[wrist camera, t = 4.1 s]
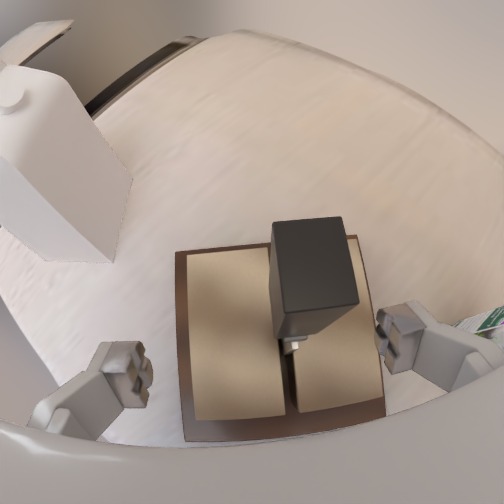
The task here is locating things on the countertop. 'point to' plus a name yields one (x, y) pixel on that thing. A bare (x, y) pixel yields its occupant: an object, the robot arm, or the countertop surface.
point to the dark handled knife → (309, 278)
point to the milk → (57, 171)
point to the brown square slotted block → (266, 354)
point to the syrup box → (486, 325)
